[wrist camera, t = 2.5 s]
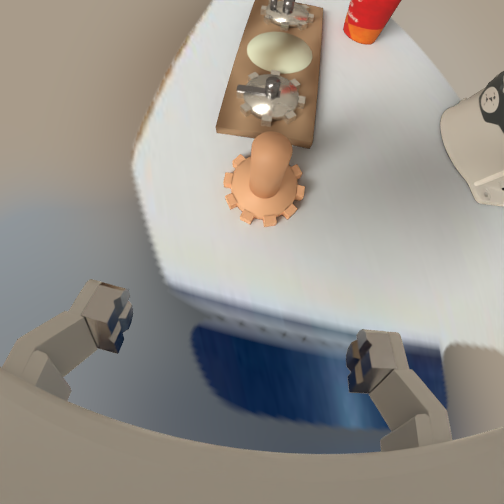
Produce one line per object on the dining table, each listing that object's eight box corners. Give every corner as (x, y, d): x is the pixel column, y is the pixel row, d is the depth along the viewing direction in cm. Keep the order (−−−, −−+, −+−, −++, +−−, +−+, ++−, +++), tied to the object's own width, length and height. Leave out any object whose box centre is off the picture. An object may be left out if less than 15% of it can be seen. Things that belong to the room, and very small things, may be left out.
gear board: (321, 14, 36) (323, 7, 35) (309, 148, 33) (312, 142, 31) (255, 2, 36) (256, -4, 34) (216, 132, 33) (215, 126, 31)
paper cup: (345, 14, 36) (366, -44, 23) (385, 35, 36) (415, -20, 22) (329, 33, 36) (352, -32, 22) (374, 56, 35) (407, -5, 21)
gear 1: (313, 9, 35) (317, -8, 31) (310, 35, 34) (315, 17, 30) (264, 0, 34) (266, -16, 31) (256, 26, 34) (258, 8, 30)
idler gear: (306, 161, 33) (328, 116, 23) (296, 232, 32) (319, 209, 22) (232, 148, 33) (229, 98, 23) (217, 219, 32) (207, 189, 22)
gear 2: (306, 82, 32) (311, 64, 29) (300, 132, 32) (306, 116, 28) (243, 71, 32) (243, 53, 29) (230, 120, 31) (229, 103, 28)
